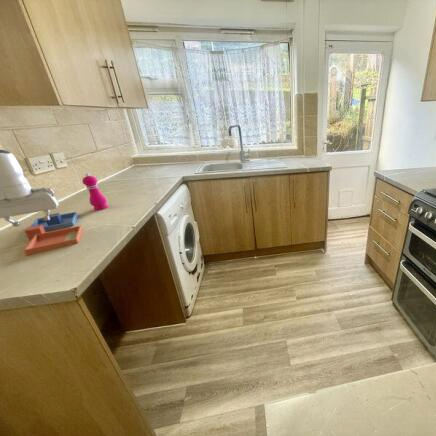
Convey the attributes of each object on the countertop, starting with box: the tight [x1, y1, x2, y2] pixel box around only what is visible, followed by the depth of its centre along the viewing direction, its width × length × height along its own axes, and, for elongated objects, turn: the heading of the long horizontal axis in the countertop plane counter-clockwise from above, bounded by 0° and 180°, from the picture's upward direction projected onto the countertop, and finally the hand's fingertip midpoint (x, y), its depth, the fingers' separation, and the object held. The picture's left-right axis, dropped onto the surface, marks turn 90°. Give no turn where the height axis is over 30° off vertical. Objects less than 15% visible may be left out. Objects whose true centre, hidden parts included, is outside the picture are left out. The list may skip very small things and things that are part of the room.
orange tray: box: [23, 225, 83, 257], centre depth 99 cm, size 15×15×2 cm
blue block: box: [46, 212, 63, 226], centre depth 114 cm, size 4×4×4 cm
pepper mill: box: [82, 172, 109, 211], centre depth 130 cm, size 7×7×20 cm
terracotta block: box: [24, 225, 46, 241], centre depth 103 cm, size 4×4×4 cm
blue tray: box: [29, 211, 79, 232], centre depth 115 cm, size 15×15×2 cm
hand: (32, 223), depth 102 cm, fingers open, 8 cm apart
